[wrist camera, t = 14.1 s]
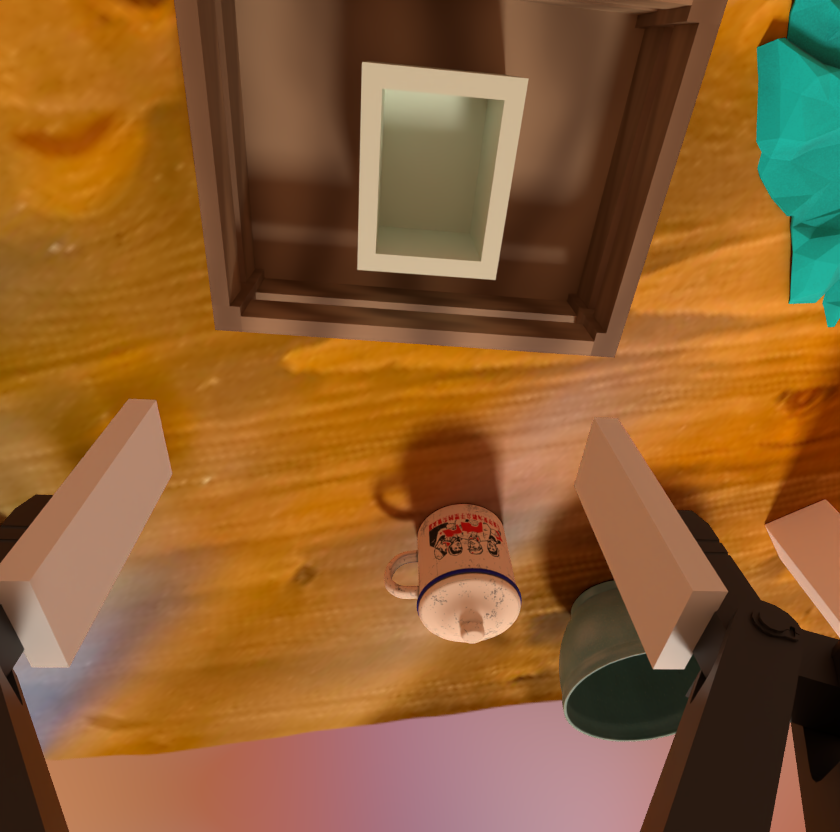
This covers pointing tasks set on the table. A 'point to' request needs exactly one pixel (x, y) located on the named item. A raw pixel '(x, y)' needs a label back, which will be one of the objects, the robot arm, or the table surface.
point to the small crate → (435, 168)
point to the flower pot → (617, 674)
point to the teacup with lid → (461, 575)
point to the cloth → (805, 145)
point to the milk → (812, 554)
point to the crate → (532, 177)
